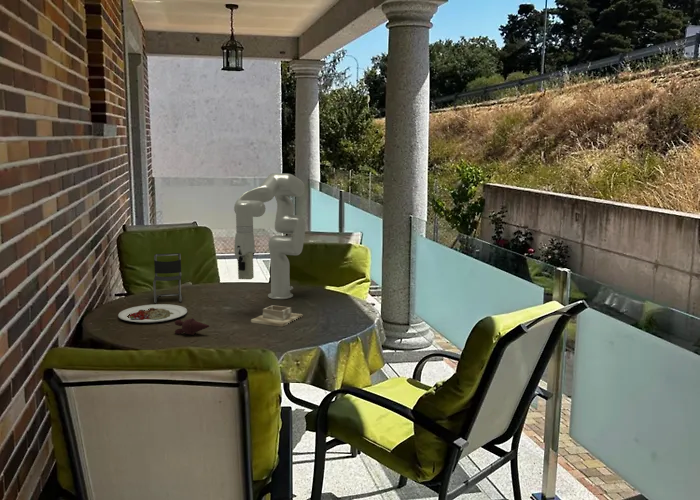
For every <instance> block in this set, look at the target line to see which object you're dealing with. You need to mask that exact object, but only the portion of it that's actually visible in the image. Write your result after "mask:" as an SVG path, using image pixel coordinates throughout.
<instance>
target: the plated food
mask: <svg viewBox="0 0 700 500" xmlns="http://www.w3.org/2000/svg"><path fill="white" fill-rule="evenodd" d="M148 309H149V310H148ZM144 310H145V311H144ZM187 313H188V309H187V308H186V307H185V306H181V305H176V304H169V303H168V304H166V303H164V304H163V303H161V304H160V303H158V304H157V303H154V304H144V305H138V306H133V307H129V308H126V309H123V310H121V311H120V312H119V313H118V315H117V316H118V318H119V319H120V320H123V321H126V322H134V323H140V324H141V323H143V324H151V323H163V322H168V321H171V320H174V319H177V318H181V317H183V316H185V315H187ZM129 314H130V316H129V318H128V317H127V316H128V315H129Z"/></svg>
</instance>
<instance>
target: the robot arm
mask: <svg viewBox="0 0 700 500" xmlns="http://www.w3.org/2000/svg"><path fill="white" fill-rule="evenodd" d="M305 190H306V187H305V183H304V182H303V180H301V179H300V178H298V177H297V176H295V175H294V174H291V173H281V172H280V173H278V172H277V173H276V172H275V173H270V174H268V176H266V178H265V179H264V180H263V181H262V183H261V184H260V185H259V186H257V187H255V188H253V189H250V190H248V191H246V192H244V193H242V194H241V195H240V196H239V197H238V198H237V200H236V201H235V203H234V207H233V210H234V213H235V224H236V225H235V226H236V227H235V230H236V233H235V237H234V250H233V251H234V257H235V258H236V260H237V267H238V266H239V270H242V271H245V262H244V258H245V255H247V253H251V252H253V257H254V256H255V253H256V249H255V235H254V234H255V233H254V218H260V217H263V216H264V214H265V213H266V205H265V203H267V202H270V201H272V200H273V199H274V197H275V200H276V214H275V221H274V231H276V232H277V233H279V234H283V235H279V234H277V235H273V236H271V237H270V238H269V240H268V245H267V246H268V250H269V255H270V256H269V257H270V293H268V294H267V297H268V298H270V299H271V300H272V299H273V300H287V299H291V298H293V297H294V294H293V293H292V292H291V291H292V290H293V289H294V287H293V286H292V285H291V283H290V277H291V276H290V274H291V273H290V269H291V267H290V259H289V258H288V257H287V256H299V255H300V254H301V253H302V252H303V249H304V243H305V234H306V228H307V225H306V219H305V218H304V217H303V216H302V215H297V214H296V215H295V214H294V211H295V206H294V203H293V200H291V198H290V197H295V198H298V197H299V198H300V197H301V196H303V195H304V194H305ZM284 234H285V235H284ZM286 234H288V235H286ZM291 235H292V236H291ZM240 254H242V255H240ZM241 256H242V258H241Z"/></svg>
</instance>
